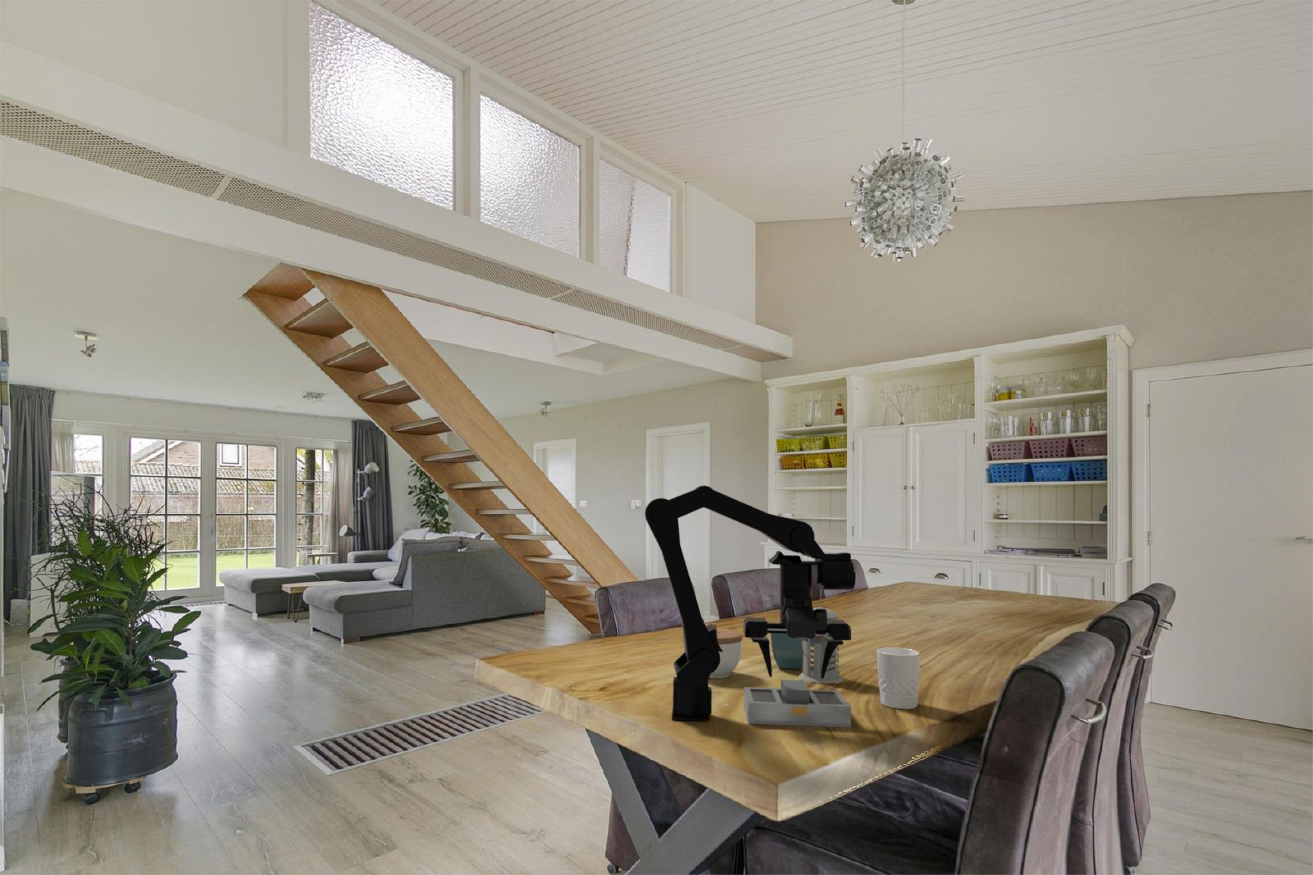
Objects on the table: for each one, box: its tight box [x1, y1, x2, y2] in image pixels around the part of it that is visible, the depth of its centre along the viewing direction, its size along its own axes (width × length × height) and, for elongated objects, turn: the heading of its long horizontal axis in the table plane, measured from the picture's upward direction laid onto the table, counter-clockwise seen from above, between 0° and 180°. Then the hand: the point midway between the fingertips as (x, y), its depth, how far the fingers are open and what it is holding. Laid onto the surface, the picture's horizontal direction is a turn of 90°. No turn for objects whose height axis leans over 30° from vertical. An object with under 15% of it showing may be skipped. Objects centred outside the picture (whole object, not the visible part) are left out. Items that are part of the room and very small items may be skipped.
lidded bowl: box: [709, 623, 743, 679], centre depth 155 cm, size 13×13×11 cm
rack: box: [743, 686, 852, 728], centre depth 124 cm, size 18×11×4 cm, turn 87°
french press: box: [798, 588, 845, 685], centre depth 153 cm, size 10×12×25 cm
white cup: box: [876, 646, 921, 710], centre depth 134 cm, size 8×8×10 cm
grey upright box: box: [780, 679, 810, 703], centre depth 124 cm, size 4×7×4 cm, turn 178°
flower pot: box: [770, 627, 807, 670], centre depth 163 cm, size 9×9×9 cm
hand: (796, 677), depth 125 cm, fingers open, 9 cm apart
